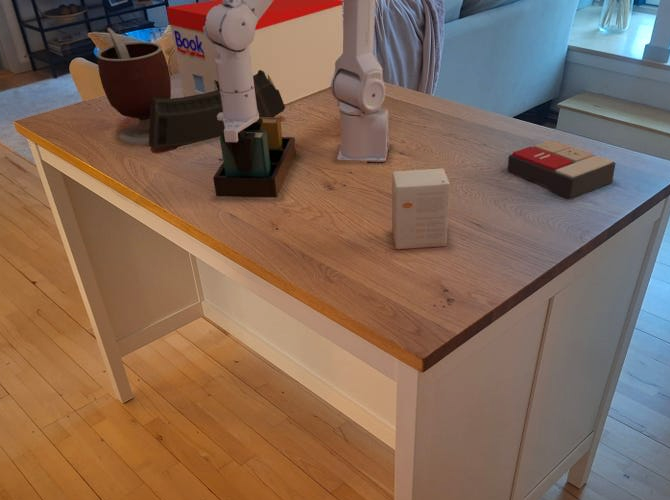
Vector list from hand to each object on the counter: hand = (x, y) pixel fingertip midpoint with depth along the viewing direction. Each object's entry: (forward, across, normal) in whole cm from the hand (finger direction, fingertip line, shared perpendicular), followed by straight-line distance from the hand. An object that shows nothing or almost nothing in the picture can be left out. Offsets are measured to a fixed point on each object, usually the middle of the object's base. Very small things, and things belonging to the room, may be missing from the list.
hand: (247, 166), depth 116 cm
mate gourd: (+5, -27, -30) cm, 41 cm away
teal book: (+3, 0, 0) cm, 3 cm away
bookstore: (+5, -54, -9) cm, 55 cm away
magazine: (+5, -26, -13) cm, 29 cm away
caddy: (+5, -6, 0) cm, 8 cm away
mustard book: (+4, -12, 0) cm, 13 cm away
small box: (+5, +16, +31) cm, 35 cm away
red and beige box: (+5, -8, +55) cm, 56 cm away
